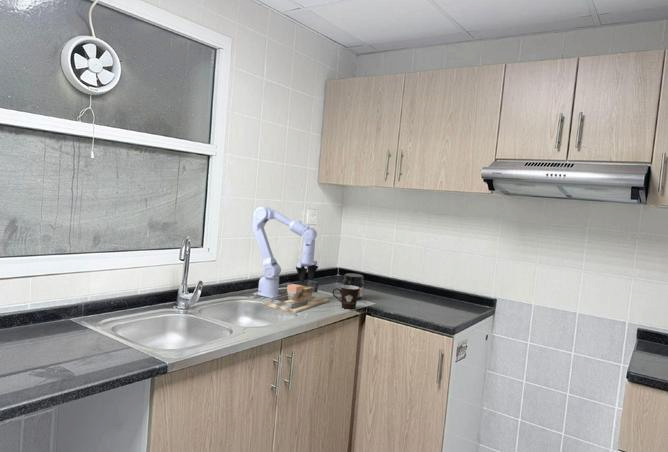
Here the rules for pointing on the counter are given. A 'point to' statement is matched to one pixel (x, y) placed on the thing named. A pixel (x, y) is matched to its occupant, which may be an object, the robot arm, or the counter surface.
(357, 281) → the supplement container
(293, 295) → the shaft
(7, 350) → the counter surface
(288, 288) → the block
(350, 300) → the coffee mug
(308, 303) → the stand
